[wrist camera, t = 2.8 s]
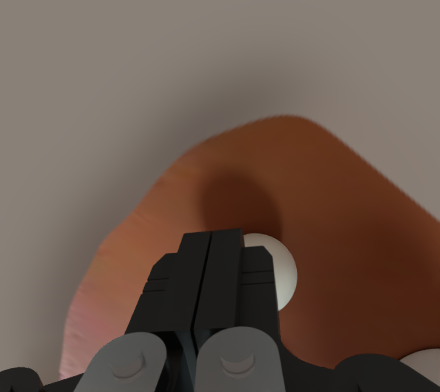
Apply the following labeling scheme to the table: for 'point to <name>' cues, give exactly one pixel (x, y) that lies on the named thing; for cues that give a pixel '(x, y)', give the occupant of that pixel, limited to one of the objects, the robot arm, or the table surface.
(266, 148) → the table surface
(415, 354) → the pill bottle
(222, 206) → the table surface
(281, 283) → the cue ball
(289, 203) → the table surface
